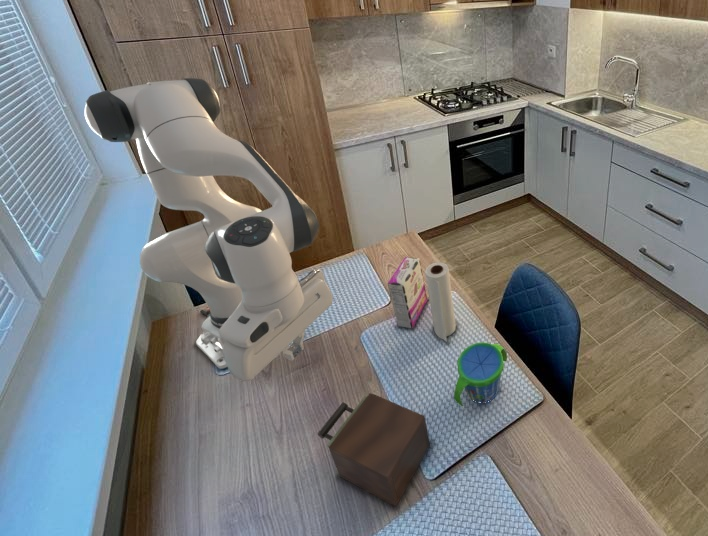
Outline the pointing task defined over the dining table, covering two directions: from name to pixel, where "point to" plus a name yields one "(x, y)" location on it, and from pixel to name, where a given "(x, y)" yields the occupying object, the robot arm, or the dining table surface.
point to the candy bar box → (407, 292)
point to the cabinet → (381, 448)
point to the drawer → (334, 419)
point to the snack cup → (480, 372)
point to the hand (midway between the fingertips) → (295, 353)
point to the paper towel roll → (440, 299)
